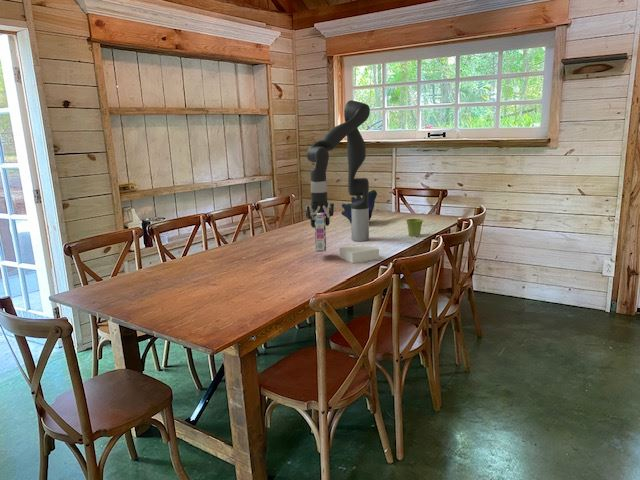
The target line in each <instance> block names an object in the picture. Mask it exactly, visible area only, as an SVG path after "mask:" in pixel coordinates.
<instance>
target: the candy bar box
mask: <svg viewBox="0 0 640 480" xmlns="http://www.w3.org/2000/svg"><path fill="white" fill-rule="evenodd" d="M325 217H326V216H325V214H324V213H317V215H316V216H315V218H314V220H315V228H314V230H315V231H314V235H315V236H314V238H315V252H326V251H327V232H326V231H327V227H326V224H325Z"/></svg>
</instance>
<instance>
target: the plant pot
mask: <svg viewBox="0 0 640 480" xmlns="http://www.w3.org/2000/svg"><path fill="white" fill-rule="evenodd" d="M405 221H406V224H407V229H408V236H410V237H420V236H421V230H422V225H423V222H424V219H421V218H407V219H406V220H405Z"/></svg>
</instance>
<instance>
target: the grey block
mask: <svg viewBox="0 0 640 480" xmlns="http://www.w3.org/2000/svg"><path fill="white" fill-rule="evenodd" d="M339 258H340V259H342V260H344V261H347V262H349V263H351V264H355V263H363V262H368V260H369V261H374V260H373V259H375V260H380V248H378V247H375V246H372V245H369V244H366V243H363V244H357V245H351V246H341V247H339Z"/></svg>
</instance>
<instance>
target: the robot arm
mask: <svg viewBox="0 0 640 480" xmlns="http://www.w3.org/2000/svg"><path fill="white" fill-rule="evenodd" d="M370 108H371V107H370V106H369V105H368V104H367V103H364V102H361V101H357V100H352V99H351V100H348V101H347V102H346V103H345V106H344V109H343V110H344V111H343V112H344V113H343V114H344V117H343V118H344V122H343V123H341V124H338V125H336V126H333V127H332V128H331V129H330V130H329V131H328V132H327V133H326V134H325V135H324V136H323V137H322V138H321V139H319V140H318V141H317V142H314V143H313V144H312V145H311V146H310V147H309V148H308V150H307V152H306V159H307V160H308V162H311V163H315V166H314V168H312V169H310V202H311V203H310V204H309V205H305V206H304V208H305V209H304V211H305V217H306V219H309V220H310V227H312V228H314V229H315V216H316V215H317V213H324V214H325V224H326V226H327V227H328V226H329V225H330V224H331V223H330V218H331V217H333V216H334V208H335V207H334V206H335V204H334V203H333V202H329V203H328V184H327V183H328V182H327V169H328V164H329V160H330V159H329V158H330V154H329V152H330V151H333V150H334V149H335V148H336V147H337V146H338V145H339V144H340V142H342V140H344V139H345V138H346V144H347V146H346V147H347V149H346V151H347V154H346V155H347V165H348V167H347V168H348V172H347V174H348V175H347V177H348V178H347V179H348V181H347V191H348V194H349V195H350V196H352V197H356V196H362V197H361V199H360V200H358V201H356V202H353V203H352V202H351V203H352V204H351V203H350V204H351V213H352V222H351V223H350V227H351V229H350V230H351V241H355V242H365V241H366V242H367V241H369V240H370V226H369V225H370V220H369V205H368V193H369V192H370V190H369V189H370V188H369V187H370V185H369V179H368V178H366V177H359V178H358V177H356V174H357V172H358V171H359V168H360V167H361V166H362V165H363V163H364V161H365V159H366V155H367V151H366V150H367V149H366V147H367V146H366V142H365V140H364V138H363V136H362V134H361V133H360V130H359V128H358V127H361V126H362V125H363V124H364V123H365V122H366V121H367V120H368V119H369V116H370V112H371V110H370ZM327 208H328V209H327ZM311 210H312V211H311Z"/></svg>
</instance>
